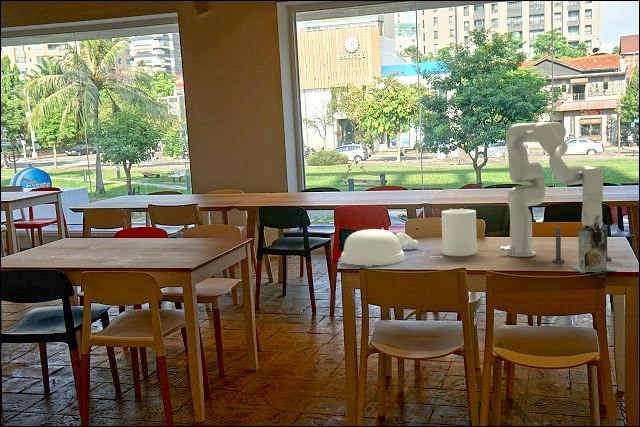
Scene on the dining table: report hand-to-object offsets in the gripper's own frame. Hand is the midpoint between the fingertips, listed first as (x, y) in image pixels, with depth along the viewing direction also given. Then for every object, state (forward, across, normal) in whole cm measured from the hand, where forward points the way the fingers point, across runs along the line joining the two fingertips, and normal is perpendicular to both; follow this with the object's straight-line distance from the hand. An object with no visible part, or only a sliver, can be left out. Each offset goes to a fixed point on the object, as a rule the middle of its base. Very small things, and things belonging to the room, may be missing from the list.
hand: (592, 239), depth 276 cm
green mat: (+12, 0, 0) cm, 12 cm away
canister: (+13, -49, -44) cm, 67 cm away
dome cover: (+13, -43, -86) cm, 97 cm away
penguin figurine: (+13, -65, -67) cm, 94 cm away
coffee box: (+12, 0, 0) cm, 12 cm away
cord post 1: (+12, -17, -8) cm, 22 cm away
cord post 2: (+12, -17, +12) cm, 24 cm away
